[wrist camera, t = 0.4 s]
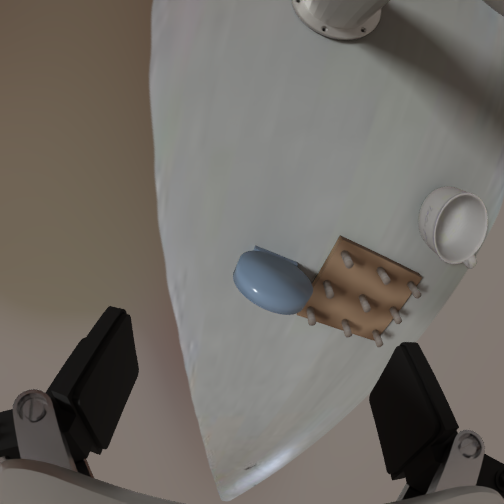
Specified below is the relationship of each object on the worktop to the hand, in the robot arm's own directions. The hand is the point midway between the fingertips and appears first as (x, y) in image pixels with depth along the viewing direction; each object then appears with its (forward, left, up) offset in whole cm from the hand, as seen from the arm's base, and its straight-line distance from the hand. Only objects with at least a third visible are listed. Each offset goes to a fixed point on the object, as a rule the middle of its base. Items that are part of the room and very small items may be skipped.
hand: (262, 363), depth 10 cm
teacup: (-5, +29, -35) cm, 45 cm away
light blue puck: (+13, +6, -34) cm, 37 cm away
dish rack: (+12, +22, -34) cm, 42 cm away
